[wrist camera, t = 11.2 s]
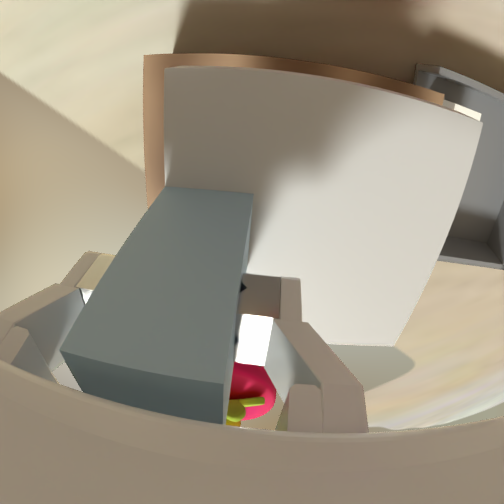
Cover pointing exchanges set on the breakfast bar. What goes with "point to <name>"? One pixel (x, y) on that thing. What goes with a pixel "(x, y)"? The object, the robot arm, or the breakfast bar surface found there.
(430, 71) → the tray
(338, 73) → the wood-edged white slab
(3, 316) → the robot arm
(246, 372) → the cake
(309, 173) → the blue-knobbed white block
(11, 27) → the breakfast bar surface
